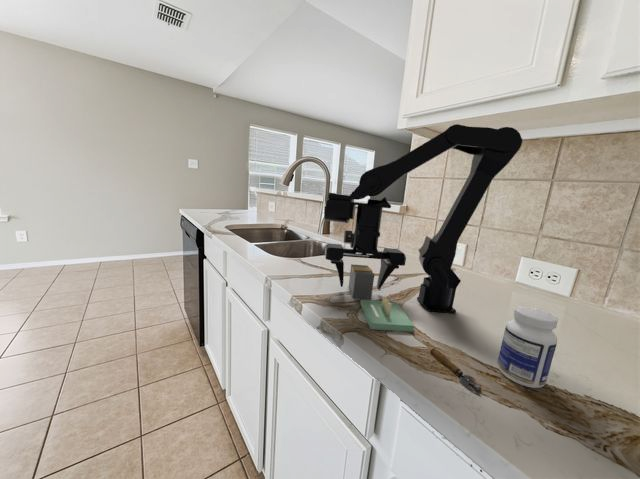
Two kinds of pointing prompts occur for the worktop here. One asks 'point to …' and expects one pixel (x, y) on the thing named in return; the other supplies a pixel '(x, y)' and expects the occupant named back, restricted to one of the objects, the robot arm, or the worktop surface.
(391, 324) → the board
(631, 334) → the worktop surface
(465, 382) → the can opener
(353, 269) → the block
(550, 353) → the pill bottle
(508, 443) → the worktop surface
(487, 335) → the worktop surface
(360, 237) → the robot arm
